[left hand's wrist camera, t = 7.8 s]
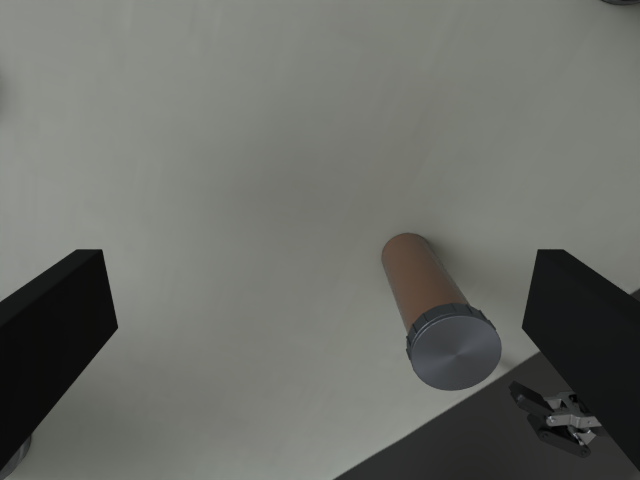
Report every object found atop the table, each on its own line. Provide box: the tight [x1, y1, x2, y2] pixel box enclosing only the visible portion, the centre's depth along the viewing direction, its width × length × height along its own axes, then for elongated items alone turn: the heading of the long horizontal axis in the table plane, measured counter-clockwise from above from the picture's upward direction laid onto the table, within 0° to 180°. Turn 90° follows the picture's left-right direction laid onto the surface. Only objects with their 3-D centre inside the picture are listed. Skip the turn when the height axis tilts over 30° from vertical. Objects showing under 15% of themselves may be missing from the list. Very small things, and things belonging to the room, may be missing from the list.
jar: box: [382, 233, 471, 334], centre depth 33 cm, size 5×5×15 cm
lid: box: [406, 302, 501, 391], centre depth 26 cm, size 6×6×2 cm
